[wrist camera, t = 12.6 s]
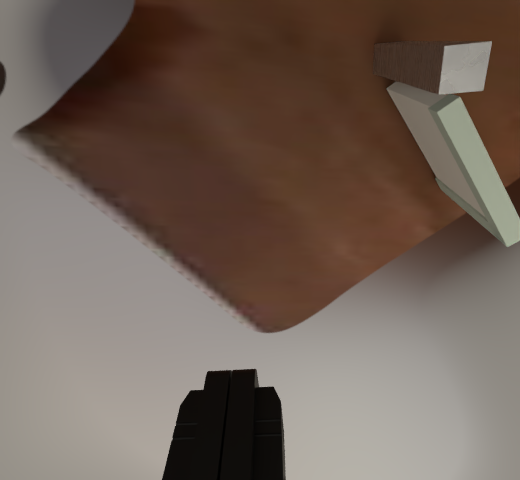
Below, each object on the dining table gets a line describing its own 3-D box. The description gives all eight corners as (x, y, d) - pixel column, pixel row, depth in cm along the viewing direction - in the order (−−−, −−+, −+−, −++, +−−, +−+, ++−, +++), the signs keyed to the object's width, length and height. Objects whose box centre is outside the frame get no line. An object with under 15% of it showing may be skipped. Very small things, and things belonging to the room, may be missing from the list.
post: (374, 43, 35) (444, 45, 21) (402, 41, 35) (492, 41, 21) (372, 73, 36) (438, 94, 22) (399, 71, 36) (483, 90, 22)
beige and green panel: (384, 89, 36) (436, 112, 24) (399, 78, 35) (460, 96, 24) (441, 189, 40) (507, 247, 29) (455, 181, 40) (528, 236, 29)
